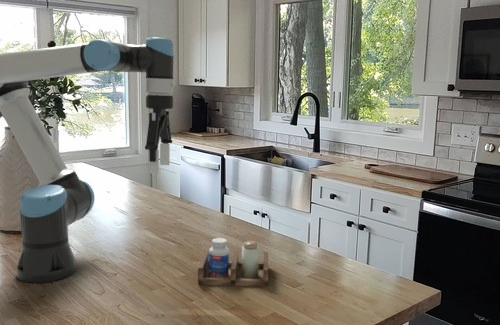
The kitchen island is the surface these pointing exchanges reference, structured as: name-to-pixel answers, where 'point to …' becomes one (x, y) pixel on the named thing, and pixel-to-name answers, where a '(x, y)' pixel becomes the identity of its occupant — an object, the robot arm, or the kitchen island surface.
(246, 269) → the jar
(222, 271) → the pill bottle
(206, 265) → the rack
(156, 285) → the kitchen island surface
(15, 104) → the robot arm
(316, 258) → the kitchen island surface
